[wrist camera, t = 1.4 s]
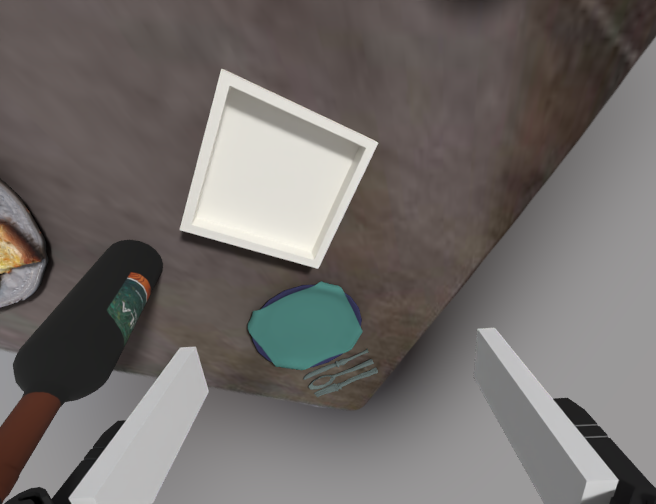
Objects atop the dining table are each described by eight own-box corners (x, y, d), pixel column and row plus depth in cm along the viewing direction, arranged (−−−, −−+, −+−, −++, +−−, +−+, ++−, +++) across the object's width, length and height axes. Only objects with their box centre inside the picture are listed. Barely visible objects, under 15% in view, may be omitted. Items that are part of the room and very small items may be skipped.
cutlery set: (337, 260, 52) (340, 268, 50) (384, 364, 68) (388, 373, 66) (230, 308, 53) (229, 317, 51) (301, 400, 69) (303, 409, 67)
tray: (184, 219, 44) (179, 230, 41) (224, 69, 37) (221, 68, 34) (314, 257, 51) (318, 268, 48) (369, 138, 44) (378, 142, 41)
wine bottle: (121, 229, 43) (-82, 455, 17) (173, 258, 46) (68, 483, 21) (94, 267, 45) (-128, 524, 19) (145, 292, 48) (17, 538, 22)
